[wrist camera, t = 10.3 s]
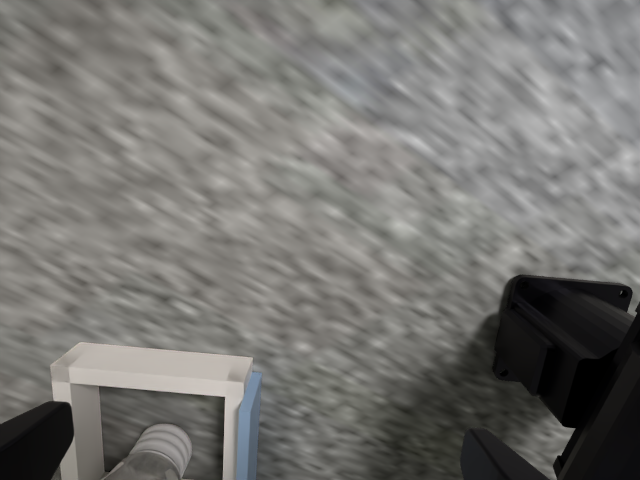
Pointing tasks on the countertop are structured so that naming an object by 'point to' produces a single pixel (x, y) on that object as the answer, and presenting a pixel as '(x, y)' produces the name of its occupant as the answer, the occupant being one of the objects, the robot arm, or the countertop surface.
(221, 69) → the countertop surface
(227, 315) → the countertop surface
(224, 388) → the white tray
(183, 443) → the light bulb
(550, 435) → the countertop surface
